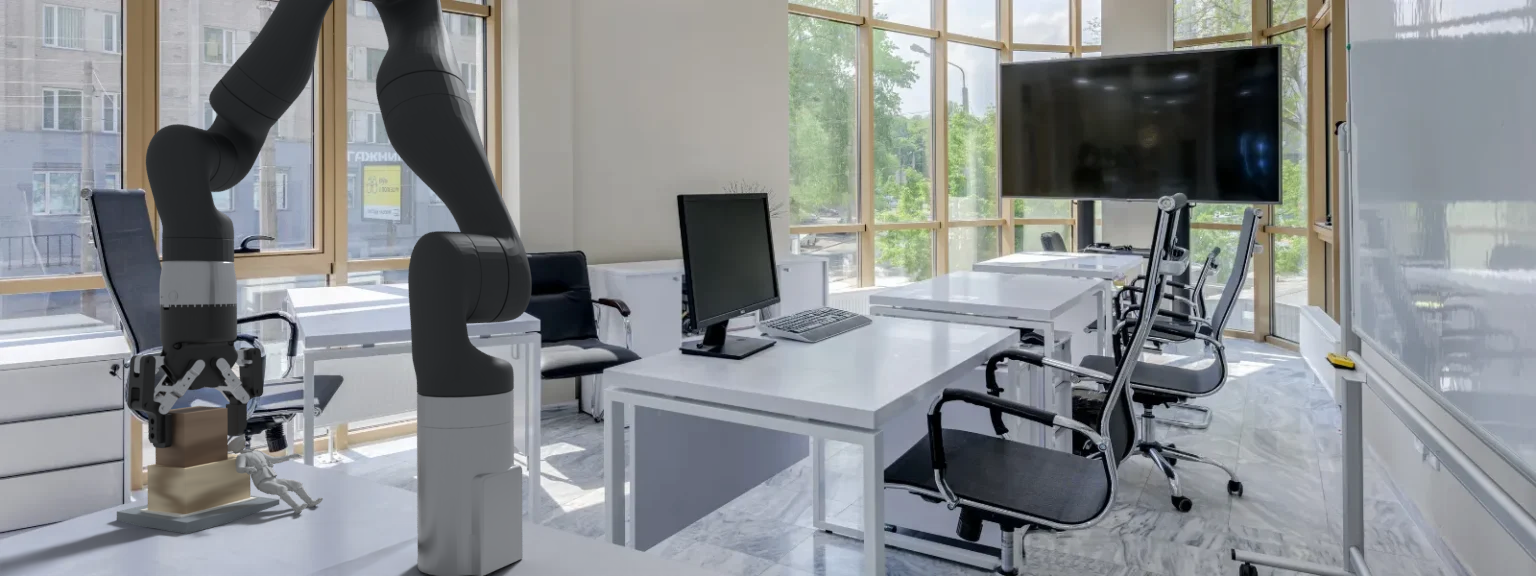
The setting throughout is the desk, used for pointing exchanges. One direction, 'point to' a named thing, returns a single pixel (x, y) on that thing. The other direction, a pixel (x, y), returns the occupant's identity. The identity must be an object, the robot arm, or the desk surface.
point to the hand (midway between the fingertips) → (199, 440)
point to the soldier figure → (269, 474)
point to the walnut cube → (196, 437)
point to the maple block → (196, 486)
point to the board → (195, 515)
